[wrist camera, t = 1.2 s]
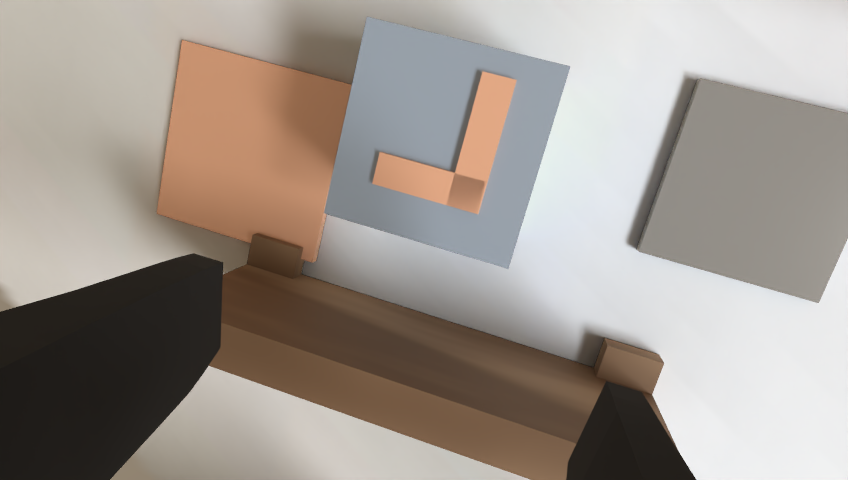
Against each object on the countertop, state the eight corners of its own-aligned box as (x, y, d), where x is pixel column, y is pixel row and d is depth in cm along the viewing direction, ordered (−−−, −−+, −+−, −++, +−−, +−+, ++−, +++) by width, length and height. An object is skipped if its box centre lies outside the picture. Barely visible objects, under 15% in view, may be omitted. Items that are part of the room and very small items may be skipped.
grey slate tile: (812, 299, 19) (818, 302, 18) (636, 249, 19) (638, 251, 19) (890, 125, 17) (898, 125, 17) (697, 79, 18) (701, 78, 18)
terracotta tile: (316, 260, 22) (312, 262, 21) (162, 212, 23) (156, 213, 22) (354, 85, 20) (351, 84, 20) (188, 41, 21) (182, 39, 21)
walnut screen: (622, 448, 21) (657, 567, 15) (244, 320, 23) (147, 381, 17) (658, 354, 20) (710, 442, 14) (262, 231, 22) (166, 263, 16)
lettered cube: (514, 234, 20) (508, 270, 15) (376, 194, 21) (321, 214, 16) (559, 86, 19) (570, 65, 14) (411, 49, 20) (365, 14, 14)
